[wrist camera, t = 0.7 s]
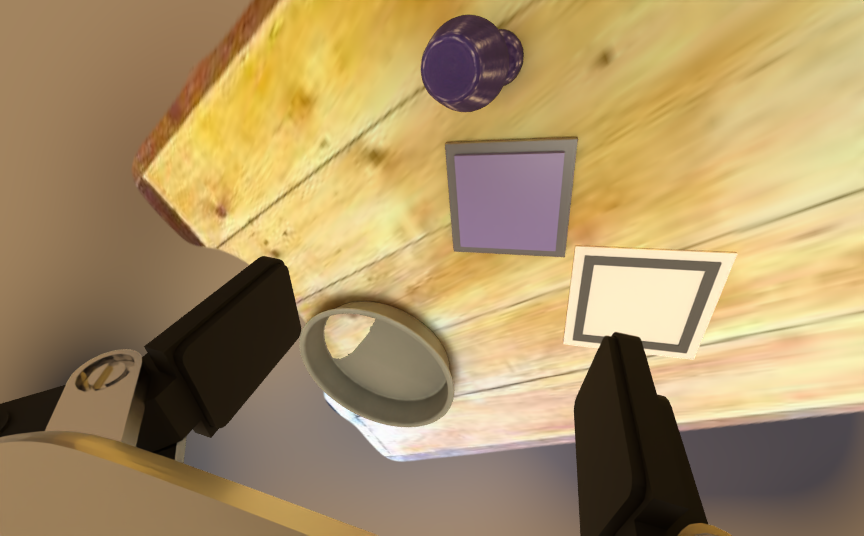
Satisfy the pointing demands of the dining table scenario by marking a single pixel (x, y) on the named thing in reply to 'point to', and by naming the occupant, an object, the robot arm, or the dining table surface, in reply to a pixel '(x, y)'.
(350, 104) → the dining table surface
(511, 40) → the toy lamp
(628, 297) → the marked card
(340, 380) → the cake pan
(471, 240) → the ink pad
